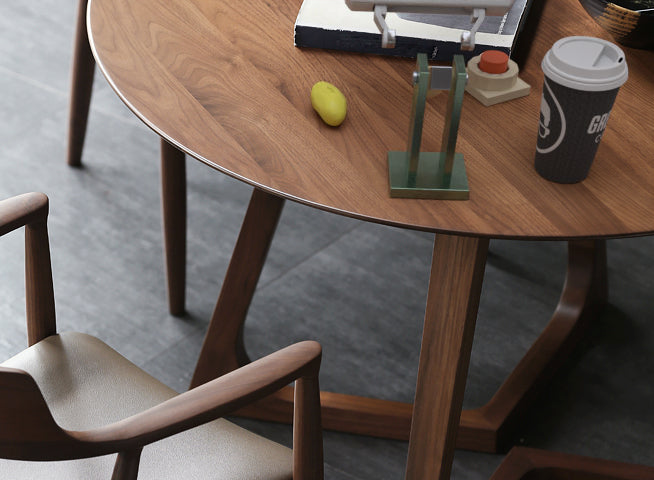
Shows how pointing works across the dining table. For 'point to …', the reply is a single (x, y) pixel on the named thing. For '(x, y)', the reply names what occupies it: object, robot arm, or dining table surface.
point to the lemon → (329, 103)
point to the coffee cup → (576, 105)
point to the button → (493, 62)
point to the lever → (439, 80)
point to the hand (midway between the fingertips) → (427, 48)
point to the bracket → (431, 167)
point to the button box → (494, 83)
